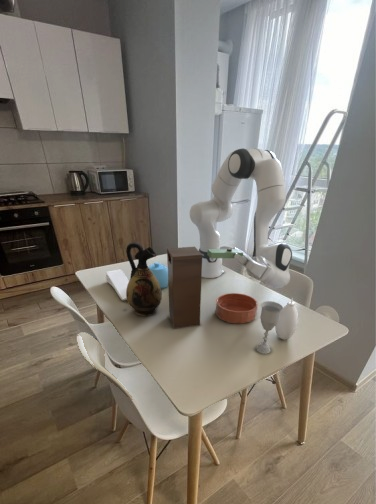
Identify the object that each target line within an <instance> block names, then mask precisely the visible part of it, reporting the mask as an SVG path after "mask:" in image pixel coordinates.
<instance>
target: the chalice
mask: <svg viewBox="0 0 376 504" xmlns="http://www.w3.org/2000/svg"><path fill="white" fill-rule="evenodd" d="M260 307H261V311H260V317H259V318H260V323H261V326H262V329H263V330H265V331H264V333H263V335H264V337H262V339H263V341H262V342H260V343H259V344H258V345H257V347H256V351H257V352H258V353H260V354H265V355H267V354H269V353H271V346H270V345H269V343H268V342H267V341H268V340H269V338H268V336H270V334H269V332H270V331H272V330H273V329H275V325H276V324H277V322H278V321H279V316H280V312H281V310H282V309H283V308H284V306H283V305H282V304H280V303H278V302H275V301H271V300H270V301H268V300H267V301H263V302H261V303H260Z"/></svg>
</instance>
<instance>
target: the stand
mask: <svg viewBox="0 0 376 504" xmlns="http://www.w3.org/2000/svg"><path fill="white" fill-rule="evenodd" d="M166 259H167V260H166V261H167V264H166V265H167V269H168V287H167V290H168V292H167V294H168V317H169V320H170V322H171V324H172V327H173V329H181V328H185V327H186V328H187V327H194V326H200V325H201V303H202V301H201V299H202V278H203V277H202V254H201V253H200V252H199V249H198V248H197V247H196V246H184V247H183V246H182V247H170V248H169V247H168V248H166Z"/></svg>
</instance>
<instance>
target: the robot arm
mask: <svg viewBox="0 0 376 504" xmlns="http://www.w3.org/2000/svg"><path fill="white" fill-rule="evenodd" d="M243 180H250V181H251V180H253V181H254V182H255V185H256V197H257V201H256V202H257V203H256V209H255V213H254V215H253V252H252V256H250V255H249V254H247V253H246V252H245V251H243V250H241V249H239V248H238V247H235V246H234V247H233V248H232V249H239V250H240V251H242V252H243V257H242V256H240V255H239V254H237V253H235V254H234V255H233V257H234V258H233V259H235V260H236V261H237V262H238V263H239V264H240V265H241V266H242V267H244V268H245V269H246V273H247V275H248V276H249V277H251V278H252V279H255V280H256V281H258V282H259V281H260V282H262V283H263V284H264V285H266V286H268V287H270V288H273V289H276V290H278V289H283V288H285V287H286V286H287V285H288V284H289V283H290V281H291V274H290V264H291V261H292V258H293V250H292V248H291V246H289V245H288V244H287V243H285V242H280V243H273V244H271V245H269V242H268V241H269V224H270V222H271V221H272V220H273V219H274V217H275V216H276V215H277V214H278V213H279V212H280V211H281V210H282V208H283V207H284V206H285V204H286V201H287V190H286V189H287V187H286V180H285V175H284V170H283V167H282V163H281V162H280V160H278V159H277V157H276V154H275V153H274V152H272V151H270V150H268V149H261V148H256V147H255V148H244V147H243V148H237V149H235V150H234V151H232V152H230V153H228V155H227V157H226V158H225V159H224V161H223V162H222V164H221V166H220V168H219V169H218V172H217V175H216V177H215V179H214V180H213V183H212V185H211V191H212V194H213V198H212V199H209V200H204V201H199V202H196V203H194V204H192V205H191V206H190V209H189V219H190V220H191V222H192V223H193V224H194V225H195V226H196V228H197V230H198V233H199V249H198V251H199V252H200V253H201V254H202V277H201V278H203V279H214V278H219V277H220V276H221V275H222V274H224V273H225V270H224V269H223V258H210V257H209V256H208V255H207V252H208V249H221V234H220V233H219V232H218V231H217V230H216V227H215V224H217V223H221V222H224V221H226V220H228V219H230V218H231V217H232V215H233V211H234V208H233V204H232V200H233V197H234V195H235V193H236V191H237V190H238V187H239V186H240V184H241V182H242V181H243Z"/></svg>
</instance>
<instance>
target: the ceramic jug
mask: <svg viewBox="0 0 376 504" xmlns="http://www.w3.org/2000/svg"><path fill="white" fill-rule="evenodd" d="M135 248H136V249H137V250H138V251H137V252H136V254H134V258H133V255H132V249H135ZM125 253H126V257H127V260H128V262H129V264H130V267H131V272H130V278H129V279H128V280H129V283H128V286H127V289H126V298H127V300H126V301H127V303H128V305H129V306H130V307H131V308H132V309H133V312H134V313H136V315H138V316H141V317H149V316H151V315H154V314H155V313H156V312H157V311H156V309H157V308H158V307H159V306H160V304H161V302H162V299H163V292H162V289H161V288H160V285H159V282H158V280H157V279H156V277H155V276H154V274H153V273H152V271H151V270H150V269H149V265H148V263H147V261H148V260H151V259H152V258H155V257H157V253H156V252H155V250H154V249H153V248H152V247H150V246H148V247H146V248H145V249H144V248H143V245H142V244H140V243H139V242H136V241H133V242H130V243H129V244H127V246H126V250H125ZM134 259H135V260H137V261H138V263H137V265H136V264H135V261H134Z"/></svg>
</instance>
